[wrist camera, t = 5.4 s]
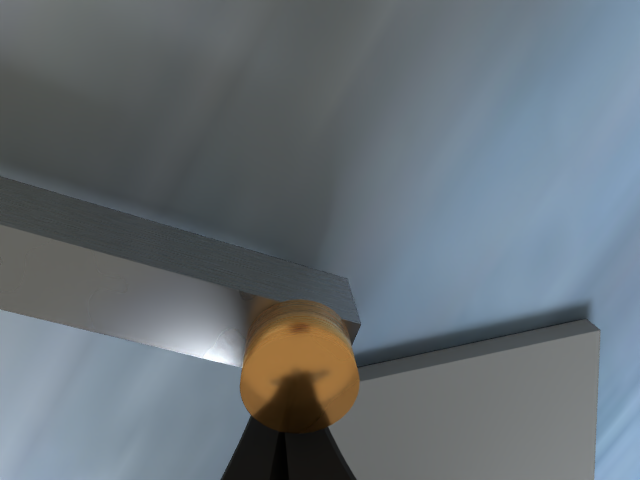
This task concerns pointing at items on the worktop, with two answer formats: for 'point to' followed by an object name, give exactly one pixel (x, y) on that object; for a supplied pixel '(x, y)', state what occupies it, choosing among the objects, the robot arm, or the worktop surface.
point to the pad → (480, 411)
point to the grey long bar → (185, 300)
